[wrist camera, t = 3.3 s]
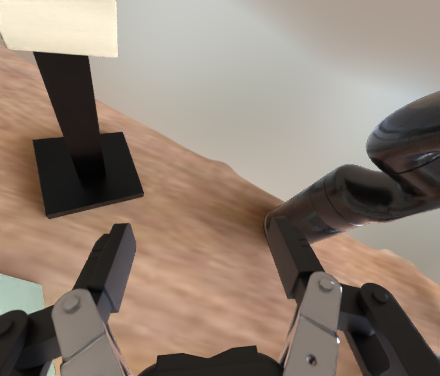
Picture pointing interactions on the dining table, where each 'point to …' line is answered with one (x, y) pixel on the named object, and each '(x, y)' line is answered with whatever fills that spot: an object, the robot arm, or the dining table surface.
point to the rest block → (21, 299)
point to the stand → (80, 144)
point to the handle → (60, 26)
